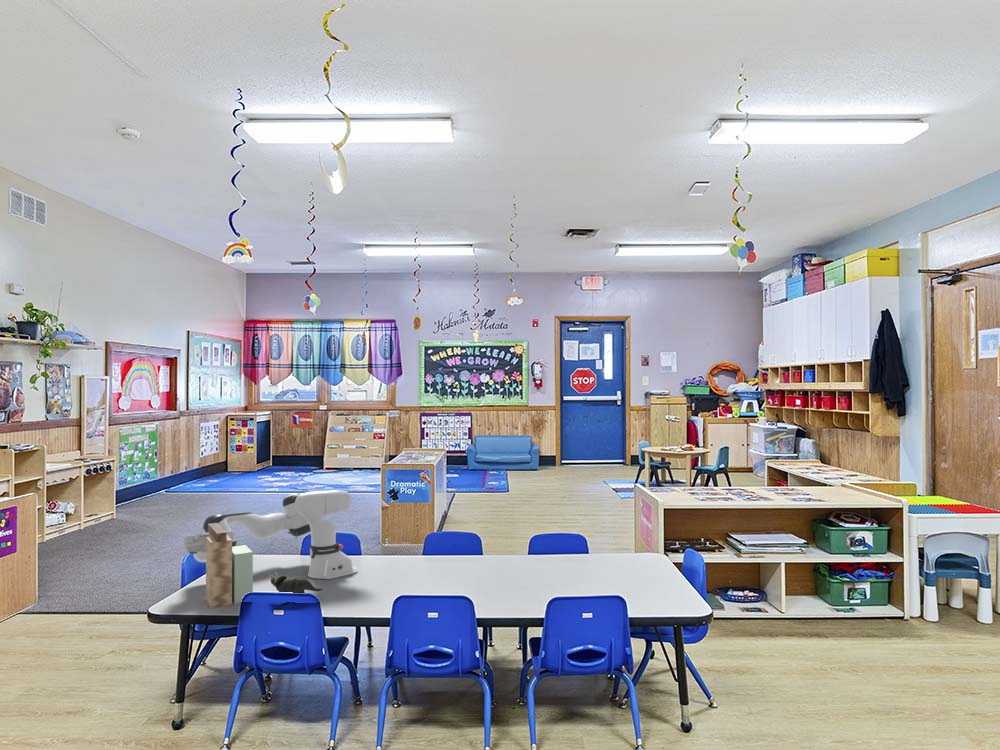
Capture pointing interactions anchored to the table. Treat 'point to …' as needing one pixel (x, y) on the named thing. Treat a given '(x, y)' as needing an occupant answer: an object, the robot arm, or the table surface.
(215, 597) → the stand
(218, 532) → the bar
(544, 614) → the table surface
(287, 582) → the dinosaur figurine
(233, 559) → the pale green upright block
